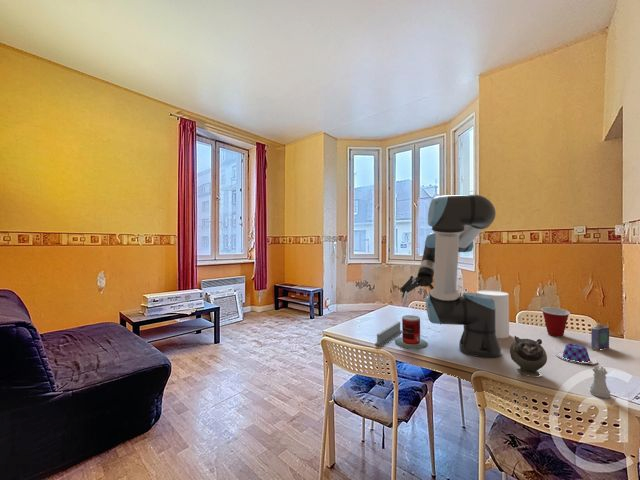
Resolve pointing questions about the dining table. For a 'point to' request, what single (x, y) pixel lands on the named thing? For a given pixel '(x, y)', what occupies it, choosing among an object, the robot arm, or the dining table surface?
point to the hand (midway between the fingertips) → (417, 305)
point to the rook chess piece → (600, 383)
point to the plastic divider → (388, 334)
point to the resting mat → (417, 346)
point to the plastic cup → (555, 320)
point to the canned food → (411, 329)
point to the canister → (499, 311)
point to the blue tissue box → (599, 337)
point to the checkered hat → (575, 353)
